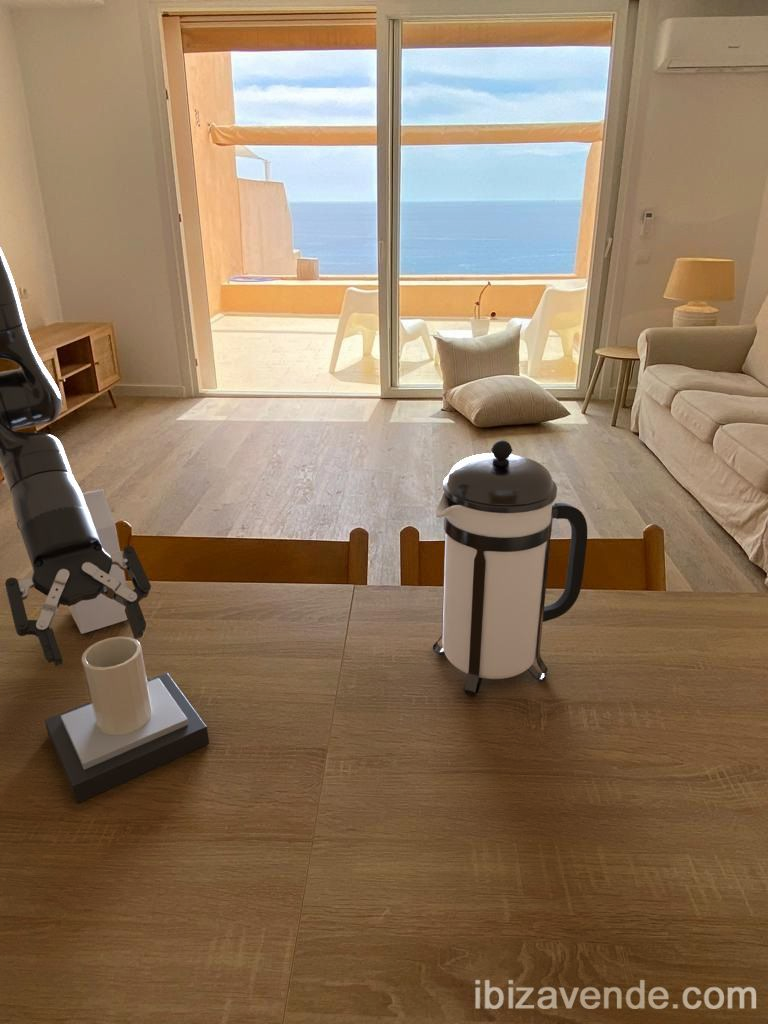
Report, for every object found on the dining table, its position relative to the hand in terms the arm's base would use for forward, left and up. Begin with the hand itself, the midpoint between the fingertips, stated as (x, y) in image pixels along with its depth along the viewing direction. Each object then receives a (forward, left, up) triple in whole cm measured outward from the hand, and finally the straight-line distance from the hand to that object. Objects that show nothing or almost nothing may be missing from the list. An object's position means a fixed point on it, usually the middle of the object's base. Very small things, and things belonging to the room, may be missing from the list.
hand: (100, 649), depth 76 cm
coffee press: (+43, -18, -10) cm, 48 cm away
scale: (0, -4, -10) cm, 11 cm away
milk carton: (+5, +24, -10) cm, 26 cm away
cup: (0, -4, -7) cm, 8 cm away
